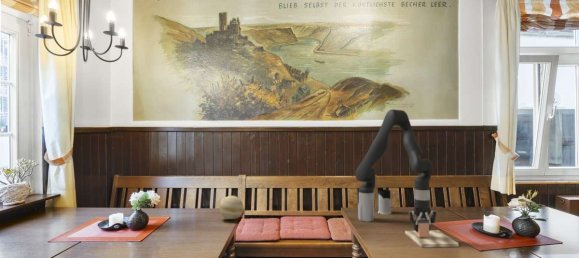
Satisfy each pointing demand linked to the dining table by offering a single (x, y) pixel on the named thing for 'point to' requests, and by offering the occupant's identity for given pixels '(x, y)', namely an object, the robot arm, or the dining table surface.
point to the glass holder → (385, 201)
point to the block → (423, 228)
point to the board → (432, 239)
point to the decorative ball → (231, 207)
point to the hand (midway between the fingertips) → (422, 231)
